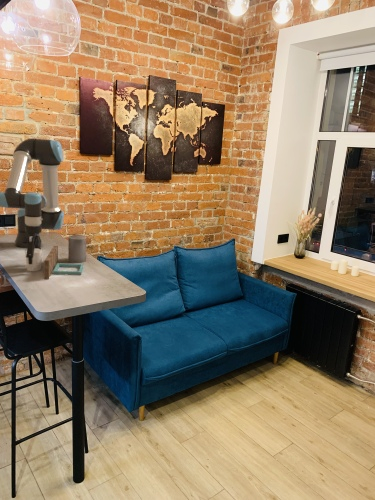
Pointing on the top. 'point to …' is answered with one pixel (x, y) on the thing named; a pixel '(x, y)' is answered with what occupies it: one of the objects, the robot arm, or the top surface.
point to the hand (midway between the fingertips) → (33, 265)
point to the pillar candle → (77, 248)
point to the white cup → (35, 259)
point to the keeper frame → (68, 271)
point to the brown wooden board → (50, 262)
